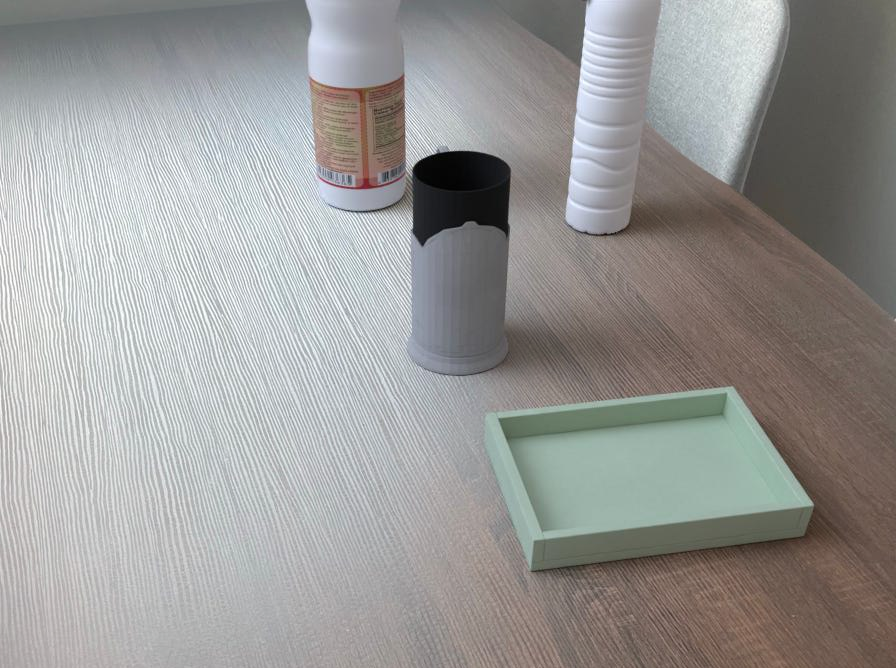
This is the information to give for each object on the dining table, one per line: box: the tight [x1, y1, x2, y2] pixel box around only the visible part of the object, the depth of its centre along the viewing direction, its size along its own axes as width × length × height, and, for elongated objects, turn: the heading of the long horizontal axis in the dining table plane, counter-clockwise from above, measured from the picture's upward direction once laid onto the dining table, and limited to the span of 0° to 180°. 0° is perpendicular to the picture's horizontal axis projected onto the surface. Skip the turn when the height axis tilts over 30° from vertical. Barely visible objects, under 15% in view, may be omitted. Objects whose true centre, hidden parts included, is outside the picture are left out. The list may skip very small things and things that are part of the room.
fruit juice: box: [304, 0, 407, 212], centre depth 99 cm, size 9×9×28 cm
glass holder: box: [406, 145, 512, 376], centre depth 85 cm, size 9×14×15 cm, turn 9°
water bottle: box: [565, 0, 662, 236], centre depth 96 cm, size 9×6×25 cm
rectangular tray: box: [483, 386, 815, 572], centre depth 74 cm, size 20×15×3 cm
